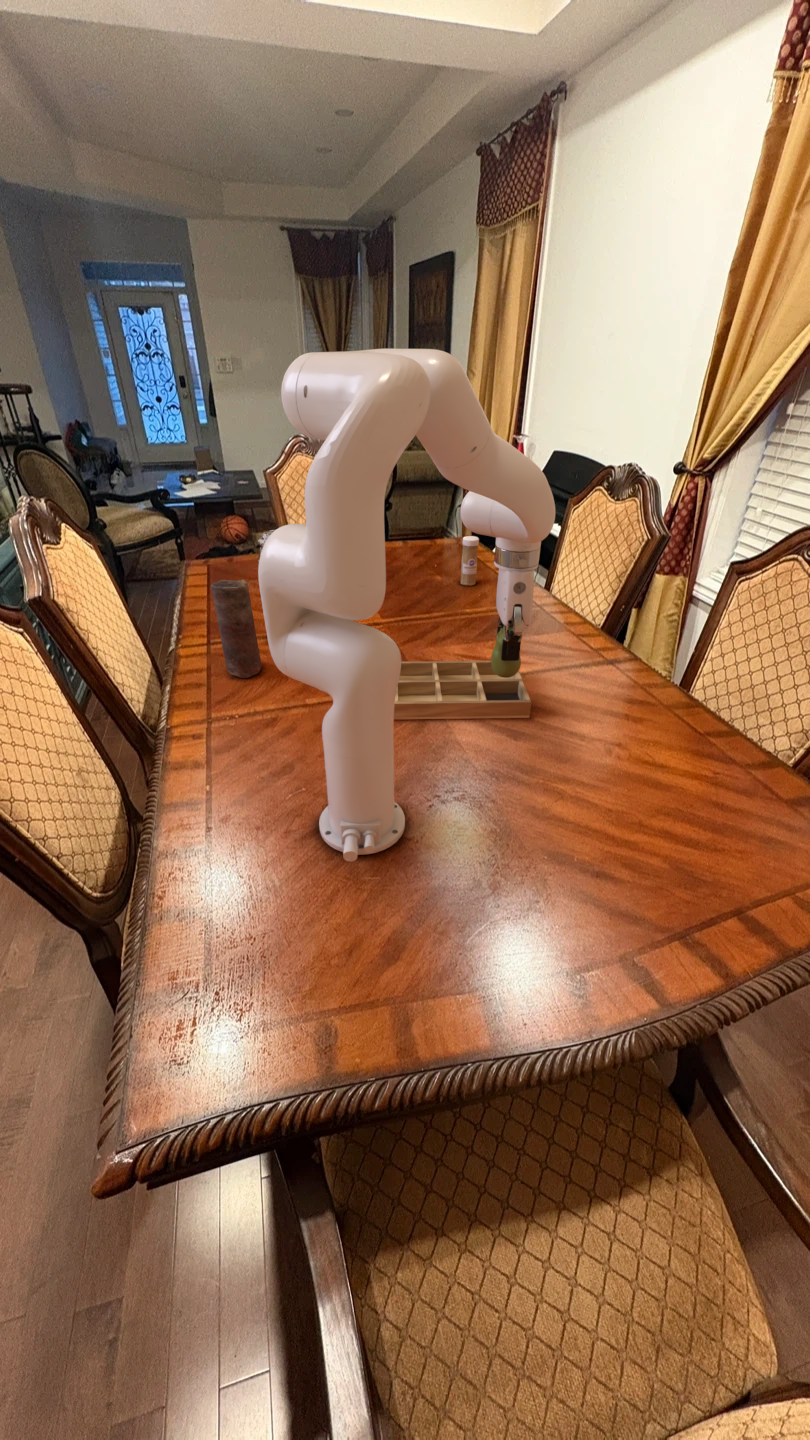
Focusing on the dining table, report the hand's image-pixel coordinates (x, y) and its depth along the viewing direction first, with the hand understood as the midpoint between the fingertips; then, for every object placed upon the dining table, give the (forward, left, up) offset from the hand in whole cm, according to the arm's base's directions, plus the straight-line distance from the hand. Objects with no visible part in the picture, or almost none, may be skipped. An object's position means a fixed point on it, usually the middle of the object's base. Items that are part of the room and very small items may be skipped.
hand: (507, 652), depth 113 cm
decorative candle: (+33, +46, -12) cm, 58 cm away
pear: (0, 0, -5) cm, 5 cm away
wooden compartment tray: (+4, +8, -12) cm, 15 cm away
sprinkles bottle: (+70, -2, -12) cm, 71 cm away
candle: (+16, +53, -12) cm, 57 cm away
